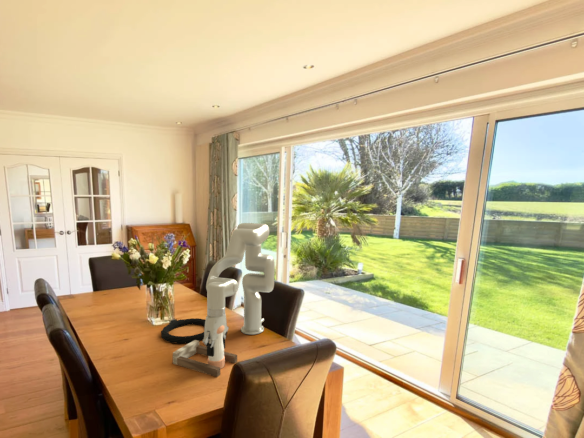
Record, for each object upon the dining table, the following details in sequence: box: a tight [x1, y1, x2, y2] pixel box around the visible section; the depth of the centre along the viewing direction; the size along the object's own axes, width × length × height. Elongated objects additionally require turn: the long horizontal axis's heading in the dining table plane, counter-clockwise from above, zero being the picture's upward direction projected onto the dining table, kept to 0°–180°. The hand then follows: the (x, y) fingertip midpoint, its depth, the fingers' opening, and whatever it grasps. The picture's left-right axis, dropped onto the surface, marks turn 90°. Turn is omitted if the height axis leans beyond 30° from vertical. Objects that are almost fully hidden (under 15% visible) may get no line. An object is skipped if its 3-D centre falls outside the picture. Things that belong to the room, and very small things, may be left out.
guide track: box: [172, 340, 238, 378], centre depth 139 cm, size 14×24×5 cm, turn 65°
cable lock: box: [160, 318, 206, 345], centre depth 171 cm, size 28×4×30 cm
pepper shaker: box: [207, 325, 226, 370], centre depth 136 cm, size 7×7×19 cm
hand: (216, 351), depth 137 cm, fingers open, 7 cm apart
